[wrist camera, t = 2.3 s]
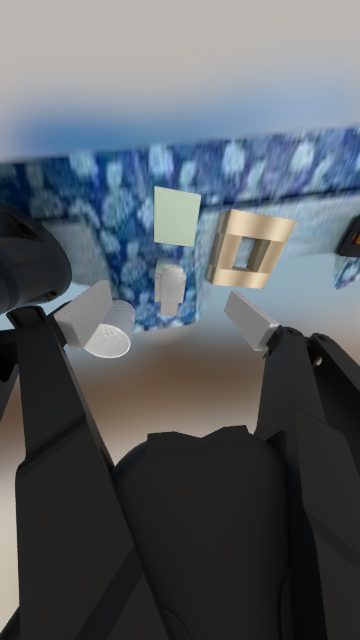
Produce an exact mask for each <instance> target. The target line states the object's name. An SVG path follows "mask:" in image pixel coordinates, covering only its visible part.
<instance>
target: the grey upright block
mask: <svg viewBox="0 0 360 640" xmlns="http://www.w3.org/2000/svg"><path fill="white" fill-rule="evenodd" d="M185 282H186V274H185V272H184V270H183V268H182V266H181V264H180V263H179V261H178V259H177V258H172V257H163V256H158V259H157V265H156V271H155V302H161V315H168V316H177V311H178V303H183V296H184V289H185Z"/></svg>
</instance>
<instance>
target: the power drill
mask: <svg viewBox="0 0 360 640" xmlns="http://www.w3.org/2000/svg"><path fill="white" fill-rule="evenodd" d="M339 254H340V256H346V257H360V216H359V217H358V219H357V221H356V222H355V224H354V226H353V228H352V230H351V232H350V233H349V235H348V237H347V239H346V241H345V242H344V244H343V246H342V248H341V250H340V251H339Z"/></svg>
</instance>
